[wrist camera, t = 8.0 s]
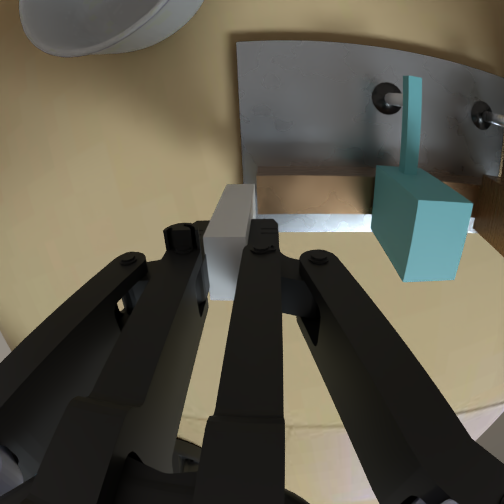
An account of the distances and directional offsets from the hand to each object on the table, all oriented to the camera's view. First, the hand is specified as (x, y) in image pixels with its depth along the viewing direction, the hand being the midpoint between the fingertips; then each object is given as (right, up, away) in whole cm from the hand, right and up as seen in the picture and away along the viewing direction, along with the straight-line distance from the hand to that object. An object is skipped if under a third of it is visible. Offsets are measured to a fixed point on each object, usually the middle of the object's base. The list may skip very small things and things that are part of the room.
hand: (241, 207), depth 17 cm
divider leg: (+9, +4, +1) cm, 10 cm away
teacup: (-8, +17, -2) cm, 18 cm away
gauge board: (+10, +5, +2) cm, 12 cm away
